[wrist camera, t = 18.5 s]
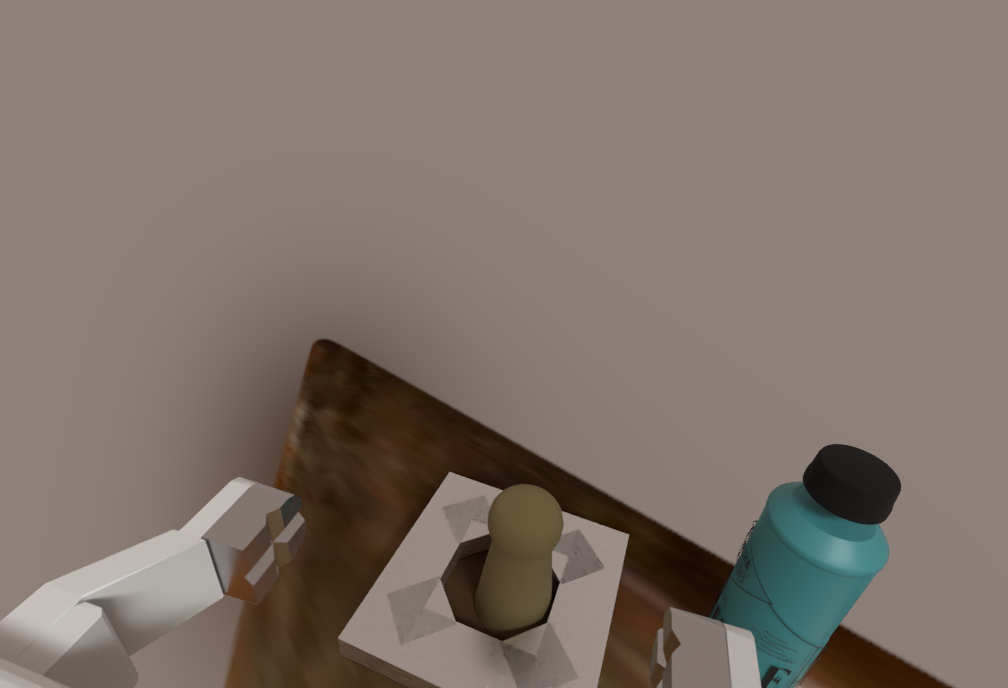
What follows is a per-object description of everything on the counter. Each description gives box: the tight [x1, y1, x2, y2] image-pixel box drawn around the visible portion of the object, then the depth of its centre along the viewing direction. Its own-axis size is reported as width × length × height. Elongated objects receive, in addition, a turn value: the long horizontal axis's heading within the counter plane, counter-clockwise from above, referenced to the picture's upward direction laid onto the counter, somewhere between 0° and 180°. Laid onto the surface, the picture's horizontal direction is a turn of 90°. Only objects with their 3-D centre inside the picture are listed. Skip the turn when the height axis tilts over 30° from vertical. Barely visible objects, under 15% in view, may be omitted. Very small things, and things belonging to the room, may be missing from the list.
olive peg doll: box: [475, 484, 564, 639], centre depth 37 cm, size 6×6×11 cm
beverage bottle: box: [707, 444, 901, 688], centre depth 32 cm, size 6×7×20 cm
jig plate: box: [338, 472, 629, 688], centre depth 40 cm, size 17×17×2 cm
